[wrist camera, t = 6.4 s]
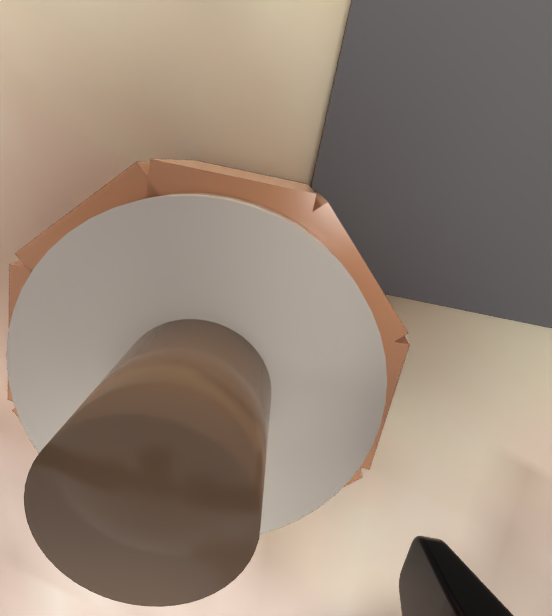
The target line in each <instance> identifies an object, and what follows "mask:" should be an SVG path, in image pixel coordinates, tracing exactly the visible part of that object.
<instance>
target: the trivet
mask: <svg viewBox="0 0 552 616" xmlns="http://www.w3.org/2000/svg"><path fill="white" fill-rule="evenodd" d="M311 188H312V189H313V190H314V192H316V191H318V192H319V193H320V194H321V195H322V196H323V197H324V199H325V200H326V201H327V202H328V203H329V205H330V206H331V208H332V209H333V211H334V213H335V214H336V216H337V218H338V219H339V221H340V223H341V224H342V226H343V227H344V229H345V231H346V232H347V234H348V236H349V237H350V239H351V240H352V242H353V244H354V245H355V247H356V249H357V250H358V252H359V254H360V255H361V257H362V258H363V260H364V262H365V263H366V265H367V267H368V268H369V270H370V271H371V273H372V275H373V276H374V278H375V280H376V281H377V283H378V285H379V286H380V288H381V289H382V291H383V293H384V294H387V295H392V296H397V297H402V298H407V299H411V300H416V301H421V302H426V303H431V304H436V305H441V306H446V307H450V308H455V309H460V310H465V311H470V312H475V313H480V314H485V315H489V316H494V317H499V318H504V319H509V320H514V321H519V322H524V323H529V324H533V325H538V326H543V327H548V328H552V0H352V1H351V5H350V10H349V14H348V19H347V23H346V28H345V33H344V37H343V42H342V46H341V51H340V55H339V60H338V65H337V69H336V74H335V78H334V83H333V87H332V92H331V96H330V101H329V106H328V110H327V115H326V119H325V124H324V128H323V133H322V138H321V142H320V147H319V151H318V156H317V160H316V165H315V169H314V174H313V179H312V183H311Z"/></svg>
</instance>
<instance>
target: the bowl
mask: <svg viewBox="0 0 552 616" xmlns="http://www.w3.org/2000/svg"><path fill="white" fill-rule="evenodd" d="M175 193H211V194H218V195H226V196H232V197H236V198H240V199H243V200H247V201H251V202H255V203H257V204H260V205H262V206H265V207H267V208H269V209H272V210H274V211H277V212H279V213H281V214H283V215H284V216H286V217H288V218H290V219H291V220H293V221H295V222H296V223H298V224H300V225H302V226H303V227H304V228H306V229H307V230H308V231H309V232H311V233H312V234H313V235H315V236H316V237H317V238H318V239H320V240H321V241H322V242H323V243H324V244H325V245H326V246H327V247H328V248H329V249H330V250H331V251H332V252H333V253H334V254H335V255H336V256H337V257H338V258H339V259H340V261H341V262H342V263H343V265H344V266H345V267H346V269H347V270H348V271H349V273H350V274H351V275H352V277H353V278H354V280H355V282H356V284H357V285H358V287H359V289H360V291H361V293H362V294H363V296H364V298H365V300H366V302H367V304H368V305H369V307H370V309H371V311H372V313H373V316H374V319H375V321H376V324H377V327H378V329H379V332H380V335H381V339H382V344H383V348H384V353H385V357H386V371H387V390H386V403H385V407H384V412H383V416H382V421H381V425H380V427H379V430H378V433H377V435H376V438H375V440H374V443H373V445H372V447H371V449H370V451H369V453H368V454H367V456H366V458H365V460H364V461H363V463H362V465H361V466H360V467H359V469H358V470H357V471H356V473H355V474H354V475H353V477H352V478H351V479H350V480H349V481H348V482H347V483H346V484H345V485H344V486H346V485H348V484H350V483H352V482H354V481H356V480H358V479H360V478H362V472H361V468H365V469H370V467H371V464H372V461H373V457H374V454H375V451H376V448H377V445H378V442H379V439H380V436H381V433H382V429H383V426H384V423H385V420H386V417H387V414H388V411H389V408H390V405H391V401H392V398H393V395H394V392H395V389H396V386H397V383H398V380H399V377H400V373H401V370H402V367H403V364H404V361H405V358H406V355H407V352H408V349H409V346H410V345H409V343H408V342H407V340H406V339H405V337H404V335H406V334H408V332H407V330H406V329H405V327H404V325H403V324H402V322H401V320H400V319H399V317H398V316H397V314H396V312H395V311H394V309H393V307H392V306H391V304H390V302H389V301H388V299H387V298H386V296H385V294H384V293H383V291H382V289H381V288H380V286H379V285H378V283H377V281H376V280H375V278H374V276H373V275H372V273H371V271H370V270H369V268H368V267H367V265H366V263H365V262H364V260H363V258H362V257H361V255H360V254H359V252H358V250H357V249H356V247H355V245H354V244H353V242H352V240H351V239H350V237H349V236H348V234H347V232H346V231H345V229H344V227H343V226H342V224H341V223H340V221H339V219H338V218H337V216H336V214H335V213H334V211H333V209H332V208H331V206H330V205H329V203H328V202H327V201H326V200H325V199H324V197H323V196H322V195H321V194H320V193H319V192H318V191H316V192H314V190H313V189H312V188H311V187H310V186H309V185H308V184H304V183H300V182H295V181H290V180H285V179H281V178H276V177H271V176H267V175H262V174H257V173H252V172H248V171H243V170H238V169H234V168H229V167H224V166H219V165H215V164H210V163H205V162H200V161H196V160H170V159H150V162H136V163H134V164H133V165H132V166H130V167H129V168H128V169H126V170H125V171H124V172H122V173H121V174H120V175H118V176H117V177H116V178H114V179H113V180H112V181H110V182H109V183H108V184H106V185H105V186H104V187H102V188H101V189H100V190H98V191H97V192H96V193H94V194H93V195H92V196H90V197H89V198H88V199H87V200H85V201H84V202H83V203H81V204H80V205H79V206H77V207H76V208H75V209H73V210H72V211H71V212H69V213H68V214H67V215H65V216H64V217H63V218H61V219H60V220H59V221H57V222H56V223H55V224H53V225H52V226H51V227H49V228H48V229H47V230H45V231H44V232H43V233H41V234H40V235H39V236H37V237H36V238H35V239H33V240H32V241H31V242H30V243H28V244H27V245H26V246H24V247H23V248H22V249H20V250H19V251H18V252H16V253H15V254H16V256H17V257H18V258H19V259H20V261H17V262H15V263H12V264H10V270H9V327H10V322H11V318H12V313H13V310H14V307H15V305H16V302H17V300H18V297H19V294H20V292H21V289H22V288H23V286H24V284H25V282H26V281H27V279H28V277H29V276H30V274H31V272H32V271H33V269H34V267H35V266H36V265H37V264H38V263H39V261H40V260H41V259H42V258H43V257H44V255H45V254H46V253H47V252H48V250H49V249H50V248H52V247H53V246H54V245H55V244H56V243H57V242H58V241H59V240H60V239H62V238H63V237H64V236H65V235H66V234H67V233H68V232H70V231H71V230H73V229H75V228H76V227H78V226H79V225H81V224H82V223H84V222H85V221H87V220H88V219H90V218H92V217H94V216H97V215H99V214H101V213H103V212H105V211H108V210H110V209H112V208H114V207H118V206H121V205H124V204H128V203H131V202H135V201H138V200H142V199H146V198H150V197H155V196H162V195H168V194H175ZM8 400H10V401H13V399H12V394H11V390H10V385H9V380H8ZM12 411H13V412H14V413H15V414H16V415H17V416H18V413H17V410H16V408H14V409H13V410H12ZM18 417H19V416H18ZM344 486H343V487H344ZM343 487H342V488H343Z"/></svg>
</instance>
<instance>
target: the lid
mask: <svg viewBox="0 0 552 616" xmlns="http://www.w3.org/2000/svg"><path fill="white" fill-rule="evenodd" d="M6 357H7V371H8V380H9V385H10V390H11V394H12V399H13V402H14V405H15V408H16V410H17V413H18V416H19V419H20V421H21V423H22V425H23V427H24V429H25V431H26V433H27V435H28V437H29V439H30V441H31V442H32V444H33V445H34V447H35V448H36V450H37V451H38V453H39V455H38V456H37V457H36V459H35V460H34V462H33V464H32V466H31V469H30V471H29V473H28V476H27V480H26V484H25V492H24V506H25V513H26V518H27V522H28V525H29V528H30V530H31V533H32V535H33V537H34V539H35V541H36V542H37V544H38V546H39V547H40V549H41V550H42V551H43V553H44V554H45V556H46V557H47V558H48V559H49V560H50V561H51V562H52V563H53V564H54V566H55V567H56V568H58V569H59V570H60V571H61V572H62V573H63V574H65V575H66V576H67V577H68V578H70V579H71V580H73V581H74V582H76V583H77V584H79V585H80V586H82V587H84V588H86V589H88V590H89V591H91V592H94V593H96V594H98V595H101V596H103V597H106V598H109V599H112V600H115V601H118V602H123V603H128V604H132V605H141V606H160V607H161V606H174V605H180V604H185V603H190V602H193V601H196V600H200V599H202V598H205V597H207V596H209V595H212V594H214V593H216V592H217V591H219V590H221V589H222V588H224V587H225V586H227V585H228V584H229V583H231V582H232V581H233V580H234V579H235V578H236V577H237V576H238V575H239V574H240V573H241V572H242V571H243V570H244V568H245V567H246V566H247V564H248V563H249V562H250V560H251V558H252V556H253V554H254V552H255V549H256V546H257V543H258V540H259V534H262V533H265V532H269V531H272V530H275V529H278V528H281V527H283V526H286V525H288V524H290V523H292V522H295V521H297V520H299V519H301V518H303V517H304V516H306V515H308V514H309V513H311V512H313V511H314V510H316V509H318V508H319V507H320V506H322V505H323V504H324V503H326V502H327V501H328V500H329V499H331V498H332V497H333V496H335V495H336V494H337V493H338V492H339V491H340V490H341V488H342V487H343V486H344V485H345V484H346V483H347V482H348V481H349V480H350V479H351V478H352V477H353V475H354V474H355V473H356V471H357V470H358V469H359V467H360V466H361V465H362V463H363V461H364V460H365V458H366V456H367V454H368V453H369V451H370V449H371V447H372V445H373V443H374V440H375V438H376V435H377V433H378V430H379V427H380V425H381V421H382V416H383V412H384V407H385V403H386V390H387V371H386V357H385V353H384V348H383V344H382V339H381V335H380V332H379V329H378V327H377V324H376V321H375V319H374V316H373V313H372V311H371V309H370V307H369V305H368V304H367V302H366V300H365V298H364V296H363V294H362V293H361V291H360V289H359V287H358V285H357V284H356V282H355V280H354V278H353V277H352V275H351V274H350V273H349V271H348V270H347V269H346V267H345V266H344V265H343V263H342V262H341V261H340V259H339V258H338V257H337V256H336V255H335V254H334V253H333V252H332V251H331V250H330V249H329V248H328V247H327V246H326V245H325V244H324V243H323V242H322V241H321V240H320V239H318V238H317V237H316V236H315V235H313V234H312V233H311V232H309V231H308V230H307V229H306V228H304V227H303V226H302V225H300V224H298V223H296V222H295V221H293V220H291V219H290V218H288V217H286V216H284V215H283V214H281V213H279V212H277V211H274V210H272V209H269V208H267V207H265V206H262V205H260V204H257V203H255V202H251V201H247V200H243V199H240V198H236V197H232V196H226V195H218V194H211V193H175V194H168V195H162V196H155V197H150V198H146V199H142V200H138V201H135V202H131V203H128V204H124V205H121V206H118V207H114V208H112V209H110V210H108V211H105V212H103V213H101V214H99V215H97V216H94V217H92V218H90V219H88V220H87V221H85V222H84V223H82V224H81V225H79V226H78V227H76V228H75V229H73V230H71V231H70V232H68V233H67V234H66V235H65V236H64V237H63V238H62V239H60V240H59V241H58V242H57V243H56V244H55V245H54V246H53V247H52V248H50V249H49V250H48V252H47V253H46V254H45V255H44V257H43V258H42V259H41V260H40V261H39V263H38V264H37V265H36V266H35V267H34V269H33V271H32V272H31V274H30V276H29V277H28V279H27V281H26V282H25V284H24V286H23V288H22V289H21V292H20V294H19V297H18V300H17V302H16V305H15V307H14V310H13V313H12V318H11V322H10V327H9V331H8V340H7V354H6Z"/></svg>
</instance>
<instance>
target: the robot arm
mask: <svg viewBox="0 0 552 616" xmlns="http://www.w3.org/2000/svg"><path fill="white" fill-rule="evenodd" d="M399 592H400V601H401V610H402V616H513V615H512V613H511V612H510V611H509V610H508V609H507V608H506V607H505V606H504V605H503V604H502V603H501V602H500V601H499V600H498V599H497V597H496V596H495V595H494V594H493V593H492V592H491V591H490V590H489V589H488V588H487V587H486V586H485V585H484V584H483V583H482V582H481V580H480V579H479V578H478V577H477V576H476V575H475V574H474V573H473V572H472V571H471V570H470V569H469V568H468V567H467V566H466V564H465V563H464V562H463V561H462V560H461V559H460V558H459V557H458V556H457V555H456V554H455V553H454V552H453V551H452V550H451V549H450V547H449V546H448V545H447V544H446V543H445V542H443V541H442V540H439V539H435V538H430V537H425V536H417V537H416V538H415V539H414V540H413V542H412V544H411V547H410V549H409V552H408V554H407V557H406V560H405V562H404V565H403V568H402V570H401V573H400V578H399Z"/></svg>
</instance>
